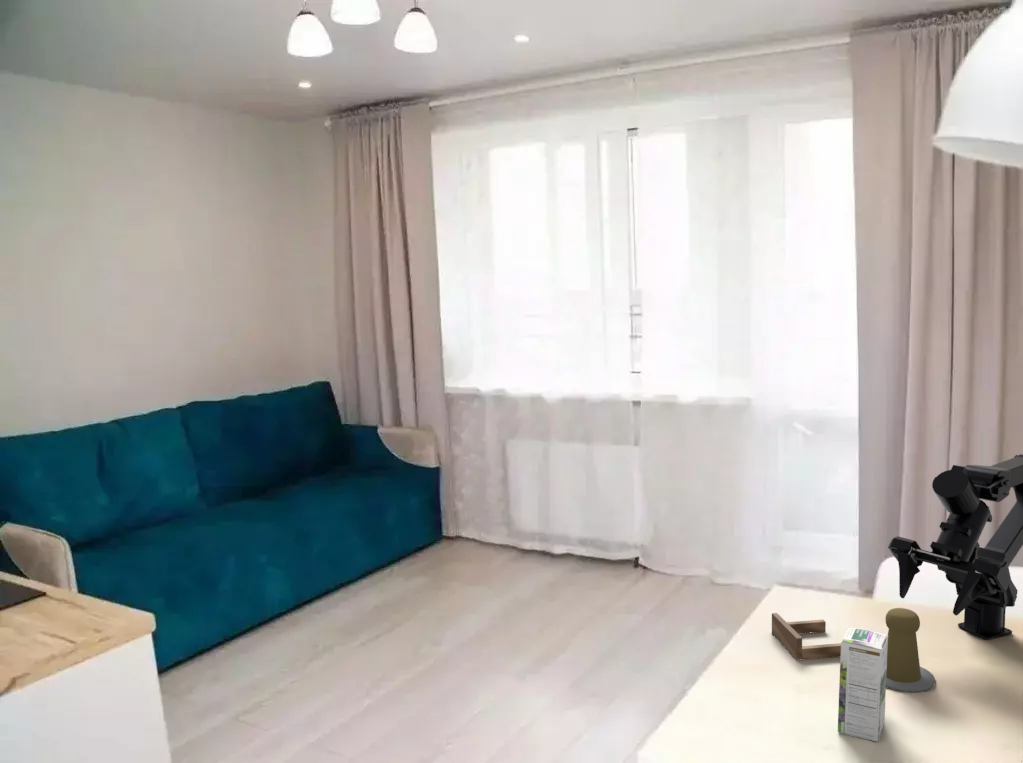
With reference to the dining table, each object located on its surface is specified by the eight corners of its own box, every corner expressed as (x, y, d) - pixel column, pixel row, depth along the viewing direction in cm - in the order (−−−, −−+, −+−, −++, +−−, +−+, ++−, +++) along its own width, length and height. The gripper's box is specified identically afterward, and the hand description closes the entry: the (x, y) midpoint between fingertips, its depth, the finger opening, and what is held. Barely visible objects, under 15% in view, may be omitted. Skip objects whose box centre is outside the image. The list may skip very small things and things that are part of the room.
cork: (899, 662, 147) (901, 601, 146) (929, 677, 142) (931, 613, 140) (873, 670, 145) (874, 608, 143) (902, 686, 139) (904, 621, 138)
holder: (823, 629, 162) (823, 609, 162) (851, 655, 152) (851, 634, 151) (771, 633, 161) (771, 613, 161) (796, 660, 151) (796, 638, 150)
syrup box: (844, 715, 132) (846, 625, 130) (886, 724, 129) (888, 632, 127) (837, 733, 127) (838, 640, 125) (880, 743, 124) (882, 648, 122)
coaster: (902, 659, 150) (902, 656, 149) (949, 685, 140) (949, 682, 140) (855, 670, 146) (855, 667, 146) (900, 697, 137) (900, 694, 137)
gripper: (1032, 566, 148) (999, 646, 143) (926, 539, 162) (892, 610, 158) (1014, 532, 142) (978, 614, 137) (905, 507, 157) (869, 580, 152)
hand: (927, 605), depth 146 cm, fingers open, 9 cm apart
